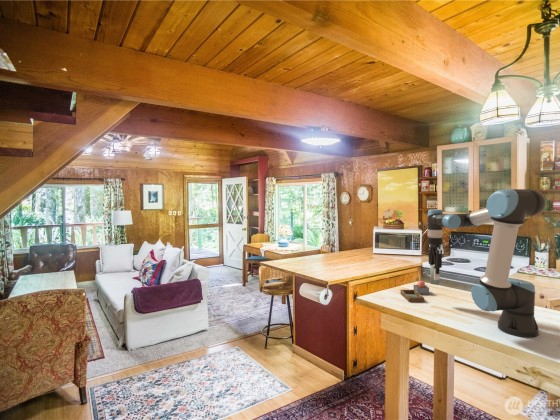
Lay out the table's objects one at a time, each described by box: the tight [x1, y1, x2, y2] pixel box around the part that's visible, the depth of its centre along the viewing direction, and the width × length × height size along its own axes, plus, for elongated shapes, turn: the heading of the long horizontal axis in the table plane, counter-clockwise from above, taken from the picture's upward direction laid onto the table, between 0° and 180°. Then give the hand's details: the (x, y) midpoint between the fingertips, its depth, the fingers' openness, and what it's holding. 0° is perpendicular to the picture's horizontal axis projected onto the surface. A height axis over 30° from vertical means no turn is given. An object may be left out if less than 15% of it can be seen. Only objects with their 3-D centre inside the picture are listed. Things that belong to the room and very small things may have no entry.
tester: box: [413, 284, 430, 295], centre depth 206 cm, size 7×7×4 cm
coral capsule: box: [417, 280, 426, 288], centre depth 206 cm, size 4×4×6 cm
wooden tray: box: [400, 289, 425, 303], centre depth 197 cm, size 16×9×2 cm, turn 177°
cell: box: [429, 265, 440, 286], centre depth 185 cm, size 5×5×11 cm
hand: (434, 278), depth 185 cm, fingers closed on cell, 4 cm apart
